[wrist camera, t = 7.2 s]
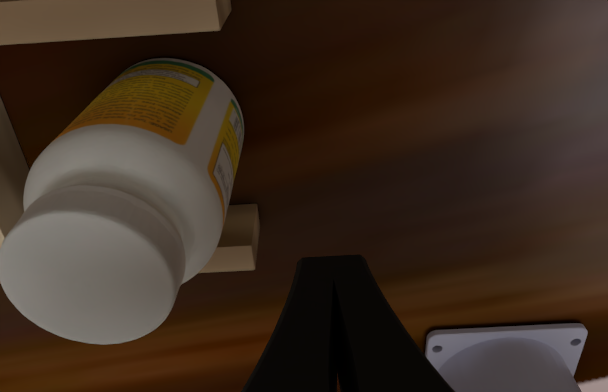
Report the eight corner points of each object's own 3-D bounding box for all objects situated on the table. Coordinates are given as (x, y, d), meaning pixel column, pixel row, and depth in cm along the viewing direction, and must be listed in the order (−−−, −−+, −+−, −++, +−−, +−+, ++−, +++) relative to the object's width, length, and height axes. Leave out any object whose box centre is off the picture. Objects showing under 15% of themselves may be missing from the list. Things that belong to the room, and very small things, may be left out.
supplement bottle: (272, 132, 20) (254, 302, 12) (176, 202, 22) (102, 394, 13) (175, 21, 18) (69, 137, 9) (77, 109, 19) (-86, 271, 11)
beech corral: (260, 226, 22) (254, 269, 20) (29, 239, 22) (-5, 283, 20) (226, -28, 17) (213, -13, 14) (-76, -7, 17) (-142, 11, 15)
